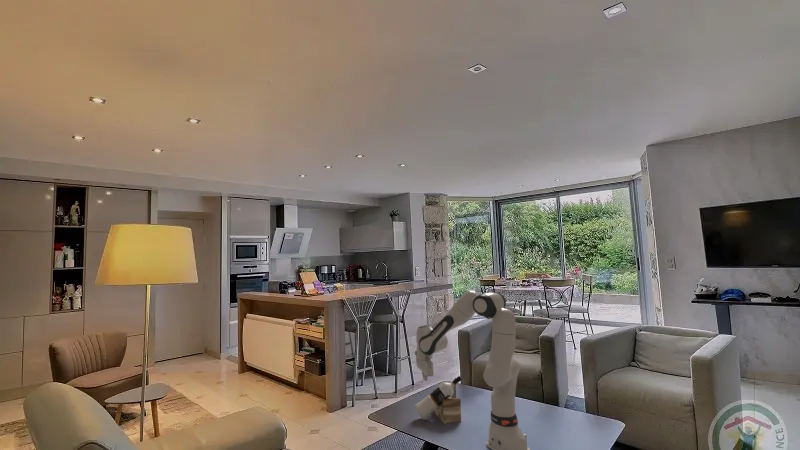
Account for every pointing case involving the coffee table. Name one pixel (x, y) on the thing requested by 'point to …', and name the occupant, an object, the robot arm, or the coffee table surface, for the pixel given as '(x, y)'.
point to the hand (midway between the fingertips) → (425, 380)
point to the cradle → (449, 410)
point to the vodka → (436, 398)
